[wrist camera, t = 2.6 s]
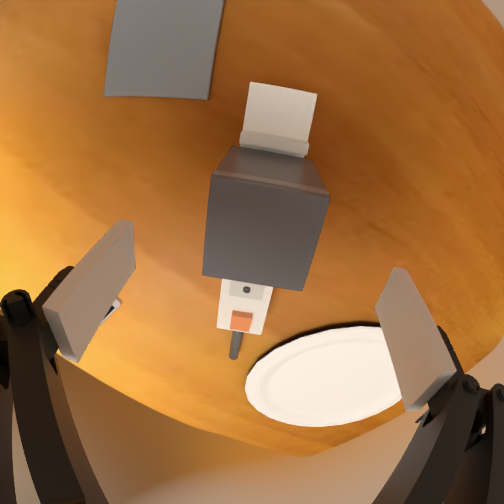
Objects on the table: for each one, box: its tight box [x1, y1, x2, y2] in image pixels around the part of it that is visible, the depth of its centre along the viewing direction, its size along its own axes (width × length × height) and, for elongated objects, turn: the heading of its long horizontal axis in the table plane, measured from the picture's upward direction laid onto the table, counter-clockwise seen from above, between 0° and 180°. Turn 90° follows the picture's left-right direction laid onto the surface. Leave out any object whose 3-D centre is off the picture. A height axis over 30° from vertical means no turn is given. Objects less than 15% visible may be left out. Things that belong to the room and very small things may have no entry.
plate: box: [245, 325, 402, 427], centre depth 42 cm, size 29×29×2 cm
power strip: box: [217, 82, 317, 360], centre depth 28 cm, size 33×5×5 cm, turn 171°
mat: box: [104, 0, 225, 100], centre depth 20 cm, size 10×10×1 cm
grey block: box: [202, 146, 330, 291], centre depth 19 cm, size 6×6×8 cm
